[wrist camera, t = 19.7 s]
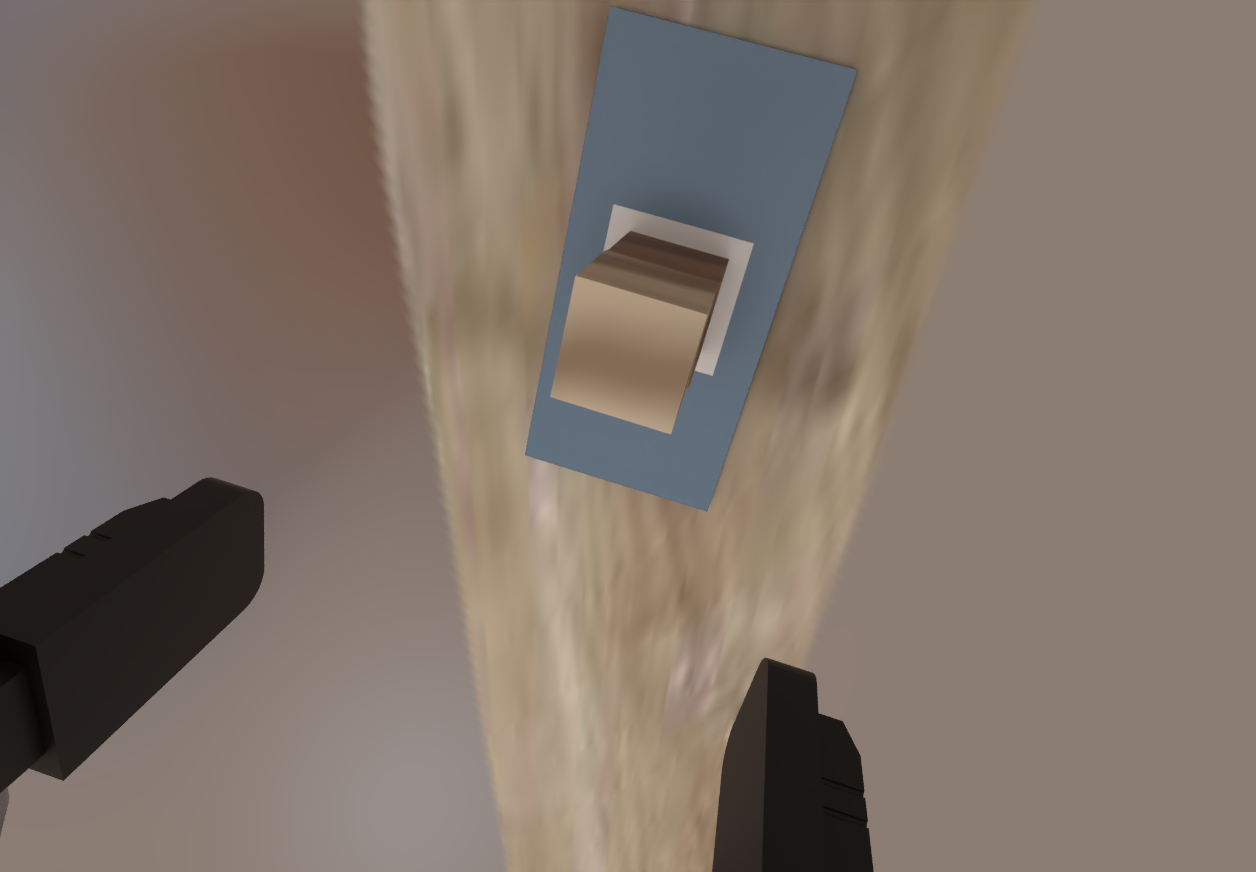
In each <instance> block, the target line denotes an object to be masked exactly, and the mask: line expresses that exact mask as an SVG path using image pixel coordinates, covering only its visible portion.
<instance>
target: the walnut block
mask: <svg viewBox="0 0 1256 872" xmlns="http://www.w3.org/2000/svg"><path fill="white" fill-rule="evenodd" d="M608 250H609V251H613V252H616V253H619V254H623V255H626V256H630V257H633V258H636V259H640V260H643V261H647V262H650V263H653V264H657V265H660V266H664V267H667V268H670V269H674V270H677V271H681V272H684V273H687V274H691V275H694V276H698V277H701V278H704V279H708V280H711V281H715V282H718V283H719V284H718V288H717V291H716V294H715V297H714V301H713V304H712V307H711V311H710V314H709V317H708V320H707V324H706V327H705V330H704V333H703V337H702V340H701V343H700V346H699V350H698V353H697V356H696V359H695V363H694V366H693V369H692V373H691V376H690V379H689V382H688V386H687V388H688V389H689V386H690V383H691V380H692V377H693V374H694V371H695V368H696V365H697V362H698V359H699V356H700V353H701V350H702V347H703V343H704V340H705V337H706V334H707V330H708V327H709V324H710V320H711V317H712V314H713V311H714V307H715V304H716V301H717V297H718V294H719V291H720V288H721V284H722V281H723V278H724V274H725V271H726V268H727V265H728V261H729V259H727V258H723V257H720V256H717V255H713V254H710V253H706V252H703V251H699V250H696V249H692V248H689V247H685V246H682V245H678V244H675V243H671V242H668V241H664V240H661V239H657V238H654V237H650V236H647V235H643V234H640V233H636V232H633V231H629V232H628V233H627V234H626V235H625V236H624V237H622V238H621V239H620V240H619V241H618V242H617V243H615V244H614V245H613V246H612V247H611V248H610V249H608Z"/></svg>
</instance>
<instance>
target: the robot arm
mask: <svg viewBox="0 0 1256 872" xmlns="http://www.w3.org/2000/svg"><path fill="white" fill-rule="evenodd" d="M263 574H264V502H263V498H262V496H261V495H260V494H259V493H258V492H256V491H253V490H250V489H247V488H244V487H241V486H238V485H235V484H232V483H229V482H226V481H222V480H219V479H216V478H211V477H210V478H205V479H202V480H200V481H199V482H197V483H195V484H194V485H192V486H191V487H189V488H188V489H187V490H185V491H183V492H182V493H180V494H179V495H177V496H176V497H174V498H173V499H171V500H170V499H167V498H161V499H158V500H155V501H151V502H148V503H145V504H143V505H139V506H137V507H133V508H130V509H127V510H124V511H123V512H121V513H119V514H118V515H116V516H114V517H113V518H111V519H110V520H108V521H106V522H105V523H104V524H102V525H100V526H98V527H97V528H95V529H94V530H92V531H91V534H90V535H89V536H85V535H84V536H83V537H81V538H79V539H78V540H76V541H74V542H73V543H71V544H70V545H68V546H66V547H65V548H64V550H63V552H62V553H61V554H60V553H55V554H54V555H52V556H50V557H49V558H47V559H46V560H44V561H42V562H41V563H39V564H38V565H36V566H34V567H33V568H31V569H30V570H28V571H26V572H25V573H23V574H22V575H20V576H18V577H17V578H15V579H14V580H13V581H10V582H9V583H7V584H6V585H4V586H3V587H1V588H0V835H1V831H2V827H3V823H4V819H5V815H6V811H7V807H8V803H9V791H8V786H9V785H10V784H11V783H12V782H14V781H15V780H16V779H17V778H18V777H19V776H20V775H21V774H23V773H24V772H25V771H26V770H27V769H28V768H30V769H33V770H35V771H38V772H41V773H43V774H46V775H49V776H52V777H55V778H57V779H60V780H63V781H64V780H65V779H66V778H67V777H68V776H69V775H70V774H71V773H72V772H73V771H74V770H75V769H76V768H77V767H78V766H80V765H81V764H82V763H83V762H84V761H85V760H86V759H87V758H88V757H89V756H90V755H91V754H92V753H93V752H94V751H95V750H96V749H98V747H100V746H101V745H102V744H103V743H104V742H105V741H106V740H107V739H108V738H109V737H110V736H111V735H112V734H113V733H114V732H115V731H117V730H118V729H119V728H120V727H121V726H122V725H123V724H124V723H125V722H126V721H127V720H128V719H129V718H130V717H131V716H132V715H133V714H134V713H135V712H137V710H139V709H140V708H141V707H142V706H143V705H144V704H145V703H146V702H147V701H148V700H149V699H150V698H151V697H152V696H153V695H155V694H156V693H157V691H159V690H160V689H161V688H162V687H163V686H164V685H165V684H166V683H167V682H168V681H169V680H170V679H171V678H172V677H173V676H175V675H176V674H177V673H178V672H179V671H180V670H181V669H182V668H183V667H184V666H185V665H186V664H187V663H188V662H189V661H190V660H192V658H194V657H195V656H196V655H197V654H198V653H199V652H200V651H201V650H202V649H203V648H204V647H205V646H206V645H207V644H208V643H209V642H210V641H212V639H214V638H215V637H216V636H217V635H218V634H219V633H220V632H221V631H222V630H223V629H224V628H225V627H226V626H227V625H228V624H230V623H231V622H232V621H233V620H234V619H235V618H236V617H237V616H238V615H239V614H240V613H241V612H242V611H243V610H244V609H245V608H246V607H247V606H248V605H249V604H250V602H251V601H252V600H253V598H254V597H255V595H256V593H257V591H258V589H259V587H260V584H261V582H262V578H263ZM863 794H864V783H863V774H862V765H861V756H860V754H859V752H858V750H857V748H856V747H855V745H854V742H853V741H852V738H851V737H850V735H849V733H848V731H847V729H846V727H845V725H844V723H843V721H840V720H837V719H834V718H831V717H828V716H825V715H822V714H819V713H818V697H817V681H816V676H815V674H814V673H811V672H809V671H806V670H803V669H800V668H796V667H793V666H790V665H787V664H784V663H781V662H778V661H775V660H772V659H769V658H764V659H763V660H762V661H761V663H760V665H759V667H758V669H757V671H756V674H755V676H754V678H753V681H752V683H751V685H750V688H749V690H748V692H747V694H746V697H745V699H744V701H743V704H742V706H741V708H740V711H739V713H738V715H737V717H736V720H735V722H734V724H733V727H732V730H731V732H730V736H729V739H728V742H727V746H726V750H725V755H724V760H723V766H722V775H721V785H720V796H719V806H718V817H717V827H716V838H715V848H714V859H713V869H712V872H873V863H872V854H871V845H870V836H869V829H868V828H867V821H868V818H867V810H866V801H865V798H863Z"/></svg>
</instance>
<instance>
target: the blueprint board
mask: <svg viewBox="0 0 1256 872" xmlns="http://www.w3.org/2000/svg"><path fill="white" fill-rule="evenodd" d="M857 71H858V70H856V69H852V68H848V67H844V66H840V65H836V64H833V63H829V62H825V61H821V60H817V59H813V58H809V57H805V56H802V55H798V54H794V53H790V52H786V51H782V50H778V49H774V48H771V47H767V46H763V45H759V44H755V43H751V42H747V41H744V40H740V39H736V38H732V37H728V36H724V35H720V34H716V33H713V32H709V31H705V30H701V29H697V28H693V27H689V26H686V25H682V24H678V23H674V22H670V21H666V20H662V19H658V18H655V17H651V16H647V15H643V14H639V13H635V12H631V11H627V10H624V9H620V8H616V7H612V6H610V9H609V14H608V20H607V25H606V30H605V36H604V41H603V46H602V51H601V57H600V62H599V67H598V72H597V78H596V83H595V88H594V94H593V99H592V104H591V109H590V115H589V120H588V125H587V131H586V136H585V141H584V146H583V152H582V157H581V162H580V167H579V173H578V178H577V183H576V189H575V194H574V199H573V204H572V210H571V215H570V220H569V225H568V231H567V236H566V241H565V247H564V252H563V257H562V262H561V268H560V273H559V278H558V283H557V289H556V294H555V299H554V305H553V310H552V315H551V320H550V326H549V331H548V336H547V341H546V347H545V352H544V357H543V363H542V368H541V373H540V378H539V384H538V389H537V394H536V399H535V405H534V410H533V415H532V421H531V426H530V431H529V436H528V442H527V447H526V452H525V455H526V456H529V457H532V458H536V459H539V460H542V461H545V462H549V463H552V464H555V465H558V466H562V467H565V468H568V469H571V470H574V471H578V472H581V473H584V474H587V475H591V476H594V477H597V478H600V479H604V480H607V481H610V482H613V483H617V484H620V485H623V486H626V487H629V488H633V489H636V490H639V491H642V492H646V493H649V494H652V495H655V496H659V497H662V498H665V499H668V500H671V501H675V502H678V503H681V504H684V505H688V506H691V507H694V508H697V509H701V510H704V511H708V508H709V505H710V502H711V499H712V496H713V493H714V490H715V487H716V484H717V481H718V478H719V475H720V472H721V470H722V467H723V464H724V461H725V458H726V455H727V452H728V449H729V446H730V443H731V440H732V437H733V434H734V431H735V429H736V426H737V423H738V420H739V417H740V414H741V411H742V408H743V405H744V402H745V399H746V396H747V393H748V390H749V387H750V385H751V382H752V379H753V376H754V373H755V370H756V367H757V364H758V361H759V358H760V355H761V352H762V349H763V346H764V343H765V341H766V338H767V335H768V332H769V329H770V326H771V323H772V320H773V317H774V314H775V311H776V308H777V305H778V302H779V299H780V297H781V294H782V291H783V288H784V285H785V282H786V279H787V276H788V273H789V270H790V267H791V264H792V261H793V258H794V255H795V253H796V250H797V247H798V244H799V241H800V238H801V235H802V232H803V229H804V226H805V223H806V220H807V217H808V214H809V211H810V209H811V206H812V203H813V200H814V197H815V194H816V191H817V188H818V185H819V182H820V179H821V176H822V173H823V170H824V167H825V165H826V162H827V159H828V156H829V153H830V150H831V147H832V144H833V141H834V138H835V135H836V132H837V129H838V126H839V123H840V121H841V118H842V115H843V112H844V109H845V106H846V103H847V100H848V97H849V94H850V91H851V88H852V85H853V82H854V79H855V77H856V74H857ZM629 231H633V232H636V233H640V234H643V235H647V236H650V237H654V238H657V239H661V240H664V241H668V242H671V243H675V244H678V245H682V246H685V247H689V248H692V249H696V250H699V251H703V252H706V253H710V254H713V255H717V256H720V257H723V258H727V259H729V261H728V265H727V268H726V271H725V274H724V278H723V281H722V284H721V288H720V291H719V294H718V297H717V301H716V304H715V307H714V311H713V314H712V317H711V320H710V324H709V327H708V330H707V334H706V337H705V340H704V343H703V347H702V350H701V353H700V356H699V359H698V362H697V365H696V368H695V371H694V374H693V377H692V380H691V383H690V386H689V389H688V388H687V389H686V392H685V395H684V398H683V401H682V403H681V406H680V409H679V412H678V415H677V418H676V421H675V424H674V427H673V430H672V433H671V434H668V433H664V432H661V431H658V430H655V429H652V428H648V427H645V426H642V425H639V424H636V423H632V422H629V421H626V420H623V419H619V418H616V417H613V416H610V415H607V414H603V413H600V412H597V411H594V410H590V409H587V408H584V407H581V406H578V405H574V404H571V403H568V402H565V401H562V400H558V399H555V398H552V397H550V395H551V390H552V385H553V380H554V376H555V371H556V366H557V361H558V357H559V352H560V347H561V342H562V337H563V333H564V328H565V323H566V318H567V314H568V309H569V304H570V299H571V295H572V290H573V285H574V280H575V276H576V275H577V274H578V273H579V272H580V271H581V270H583V269H584V268H585V267H586V266H587V265H588V264H590V263H591V262H592V261H593V260H594V259H596V258H597V257H598V256H599V255H600V254H601V253H603V252H604V251H605V250H608V249H610V248H611V247H612V246H613V245H614V244H615V243H617V242H618V241H619V240H620V239H621V238H622V237H624V236H625V235H626V234H627V233H628V232H629Z"/></svg>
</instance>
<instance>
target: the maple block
mask: <svg viewBox="0 0 1256 872" xmlns="http://www.w3.org/2000/svg"><path fill="white" fill-rule="evenodd" d="M718 284H719V283H718V282H715V281H711V280H708V279H704V278H701V277H698V276H694V275H691V274H687V273H684V272H681V271H677V270H674V269H670V268H667V267H664V266H660V265H657V264H653V263H650V262H647V261H643V260H640V259H636V258H633V257H630V256H626V255H623V254H619V253H616V252H613V251H609V250H605V251H604V252H603V253H601V254H600V255H599V256H598V257H597V258H596V259H594V260H593V261H592V262H591V263H590V264H588V265H587V266H586V267H585V268H584V269H583V270H581V271H580V272H579V273H578V274H577V275H576V276H575V280H574V285H573V290H572V295H571V299H570V304H569V309H568V314H567V318H566V323H565V328H564V333H563V337H562V342H561V347H560V352H559V357H558V361H557V366H556V371H555V376H554V380H553V385H552V390H551V395H550V397H552V398H555V399H558V400H562V401H565V402H568V403H571V404H574V405H578V406H581V407H584V408H587V409H590V410H594V411H597V412H600V413H603V414H607V415H610V416H613V417H616V418H619V419H623V420H626V421H629V422H632V423H636V424H639V425H642V426H645V427H648V428H652V429H655V430H658V431H661V432H664V433H668V434H671V433H672V430H673V427H674V424H675V421H676V418H677V415H678V412H679V409H680V406H681V403H682V401H683V398H684V395H685V392H686V389H687V386H688V382H689V379H690V376H691V373H692V369H693V366H694V363H695V359H696V356H697V353H698V350H699V346H700V343H701V340H702V337H703V333H704V330H705V327H706V324H707V320H708V317H709V314H710V311H711V307H712V304H713V301H714V297H715V294H716V291H717V288H718Z"/></svg>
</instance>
